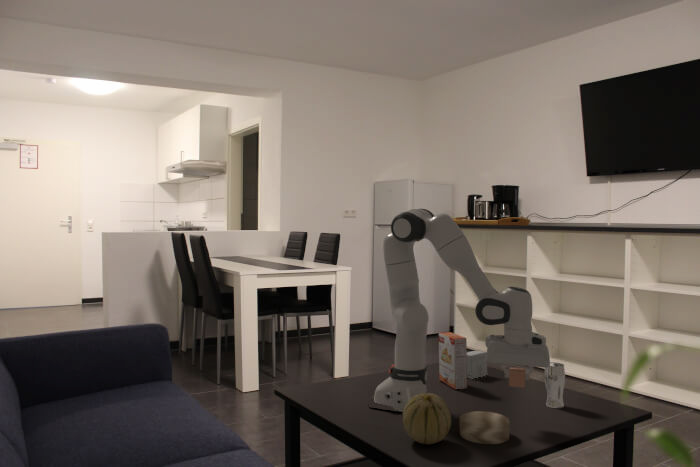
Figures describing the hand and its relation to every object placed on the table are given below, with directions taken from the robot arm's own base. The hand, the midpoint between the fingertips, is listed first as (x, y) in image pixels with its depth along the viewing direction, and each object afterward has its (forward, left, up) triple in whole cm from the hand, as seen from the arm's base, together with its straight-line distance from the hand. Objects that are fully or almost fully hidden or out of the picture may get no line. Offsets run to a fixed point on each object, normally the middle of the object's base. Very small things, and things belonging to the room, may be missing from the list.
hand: (517, 378), depth 184 cm
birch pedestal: (-10, -14, -15) cm, 22 cm away
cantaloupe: (-26, -25, -15) cm, 39 cm away
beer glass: (+12, +23, -15) cm, 30 cm away
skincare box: (-20, +57, -15) cm, 62 cm away
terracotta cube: (0, 0, -2) cm, 2 cm away
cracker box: (-27, +40, -15) cm, 50 cm away
